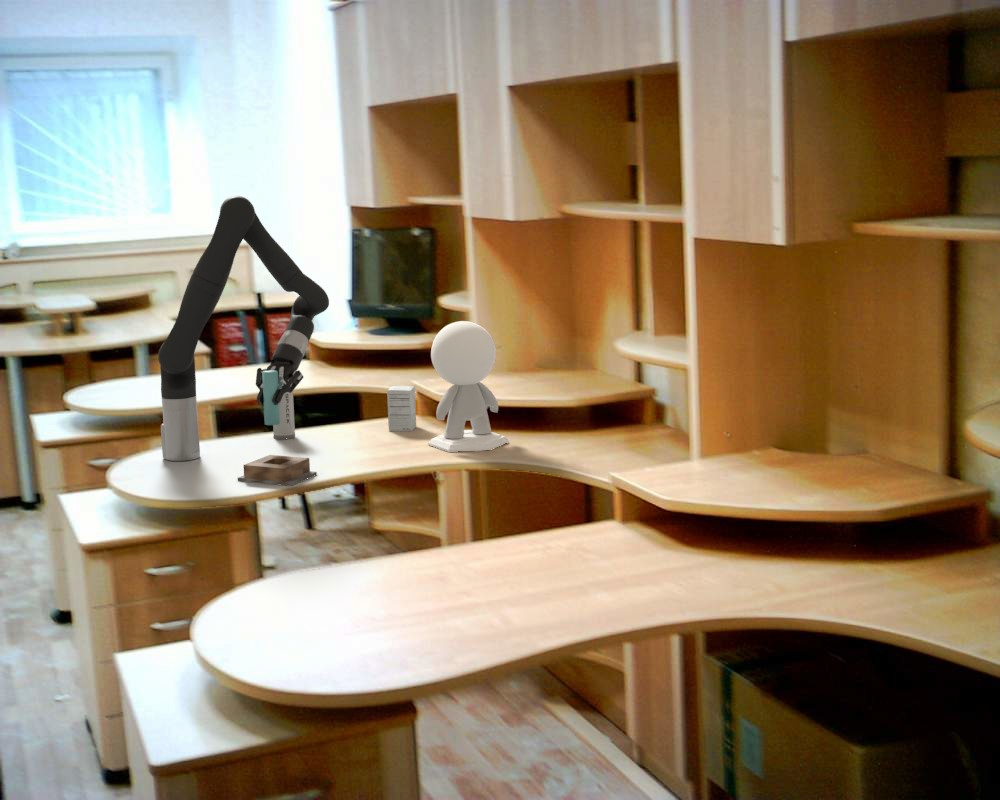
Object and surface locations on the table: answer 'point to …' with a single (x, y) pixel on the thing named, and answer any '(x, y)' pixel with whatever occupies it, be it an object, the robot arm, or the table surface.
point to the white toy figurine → (465, 387)
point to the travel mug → (285, 418)
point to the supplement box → (401, 408)
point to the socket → (277, 470)
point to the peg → (270, 397)
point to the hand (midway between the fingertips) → (267, 402)
